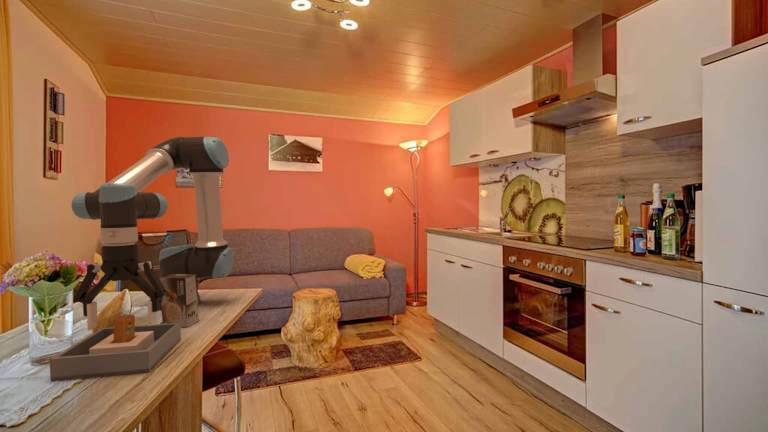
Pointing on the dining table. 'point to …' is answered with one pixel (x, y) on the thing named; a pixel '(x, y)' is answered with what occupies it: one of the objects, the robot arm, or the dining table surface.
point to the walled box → (113, 355)
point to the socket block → (124, 344)
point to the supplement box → (124, 328)
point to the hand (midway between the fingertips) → (123, 326)
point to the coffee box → (180, 299)
